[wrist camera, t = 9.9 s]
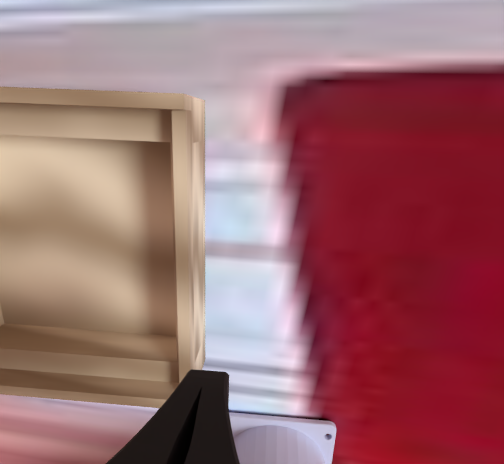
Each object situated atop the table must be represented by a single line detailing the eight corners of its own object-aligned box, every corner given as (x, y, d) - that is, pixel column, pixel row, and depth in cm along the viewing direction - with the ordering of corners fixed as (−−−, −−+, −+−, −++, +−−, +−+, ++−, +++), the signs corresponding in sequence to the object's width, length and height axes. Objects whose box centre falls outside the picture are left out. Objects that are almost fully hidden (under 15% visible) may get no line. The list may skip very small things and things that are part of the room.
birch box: (205, 358, 23) (189, 410, 19) (2, 342, 24) (-56, 389, 19) (204, 100, 18) (183, 93, 14) (-51, 90, 19) (-143, 81, 15)
